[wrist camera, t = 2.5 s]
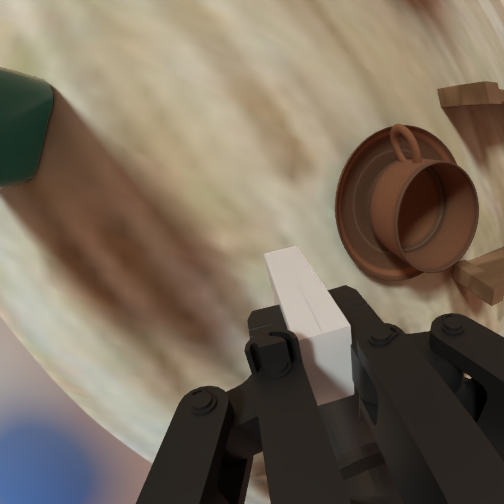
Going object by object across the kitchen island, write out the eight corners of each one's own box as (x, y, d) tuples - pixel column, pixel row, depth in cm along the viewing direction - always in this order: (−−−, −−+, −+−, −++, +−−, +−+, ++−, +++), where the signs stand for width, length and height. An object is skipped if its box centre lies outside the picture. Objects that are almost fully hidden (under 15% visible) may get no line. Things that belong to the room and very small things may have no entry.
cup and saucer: (294, 196, 22) (319, 213, 16) (401, 97, 20) (449, 88, 14) (381, 298, 25) (416, 335, 19) (467, 207, 23) (513, 224, 18)
